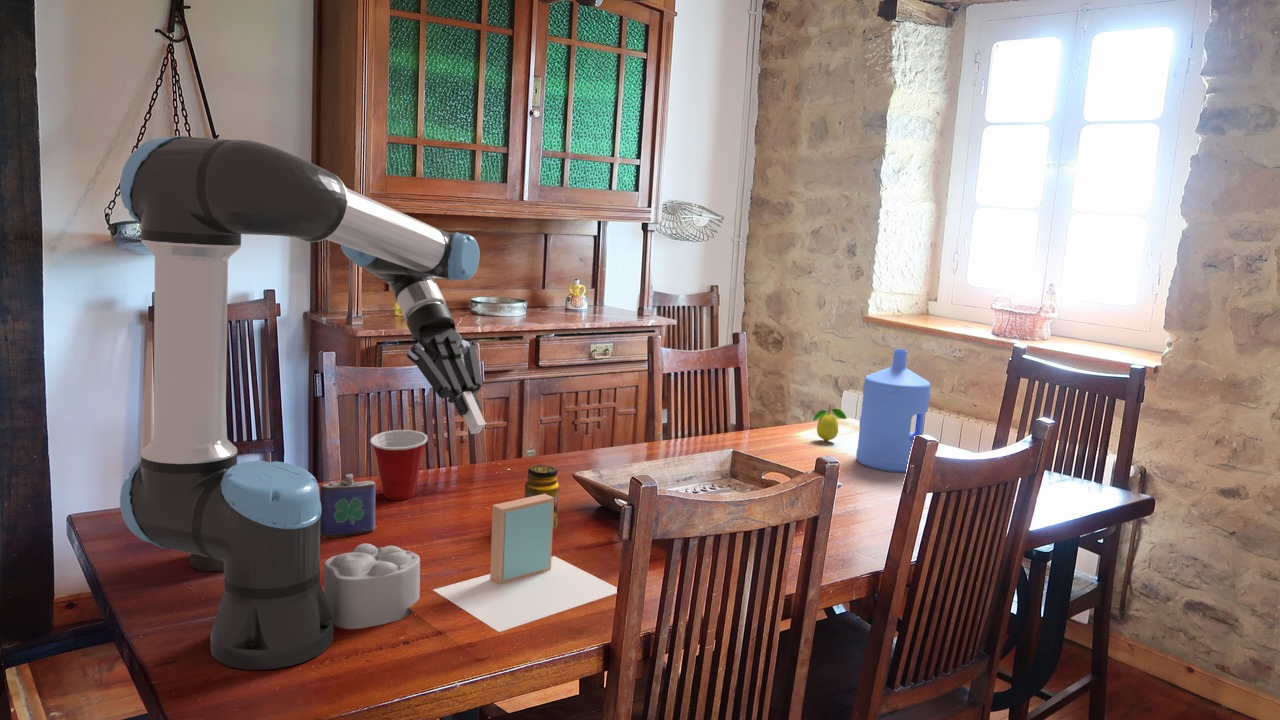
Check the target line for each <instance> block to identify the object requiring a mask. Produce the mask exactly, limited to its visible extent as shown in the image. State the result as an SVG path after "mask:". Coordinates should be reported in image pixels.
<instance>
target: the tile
mask: <svg viewBox="0 0 1280 720" xmlns="http://www.w3.org/2000/svg"><path fill="white" fill-rule="evenodd" d="M491 511H492V513H491V514H492V517H491V540H490V542H491V543H490V544H491V545H490V547H491V548H490V568H489V569H490V570H489V571H490V572H489V574H490V580H492V581H494V582H495V583H497V584H499V585H500V584H503V583H507V582H510V581H514V580H517V579H521V578H524V577H528V576H531V575H535V574H538V573H541V572H545V571H548V570H551V557H553V556H552V553H553V552H552V551H553V536H554V535H553V534H554V533H553V531H554V530H553V514H554V497H551V496H549V495H547V494H541V495H537V496H532V497H527V498H525V497H524V498H518V499H515V500H510V501H506V502H502V503H501V502H500V503H496V504H492V510H491Z"/></svg>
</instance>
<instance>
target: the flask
mask: <svg viewBox="0 0 1280 720" xmlns="http://www.w3.org/2000/svg"><path fill="white" fill-rule="evenodd" d="M354 477H355V476H354V474H353V473H347V474H345V479H343V480H342V481H335V482H334V481H332V480H331V481H330V482H328V483H323V484H322V485H321V486H320V488H319V493H320V495H319V496H320V502H321V508H322V510H321V524H320V537H321V536H322V537H321V538H326V537H329V538H343V537H349V536H360V535H366V534H370V533H374V532H375V530H376V482H375V481H373V480H364V481H355V480H353V479H354Z"/></svg>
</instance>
